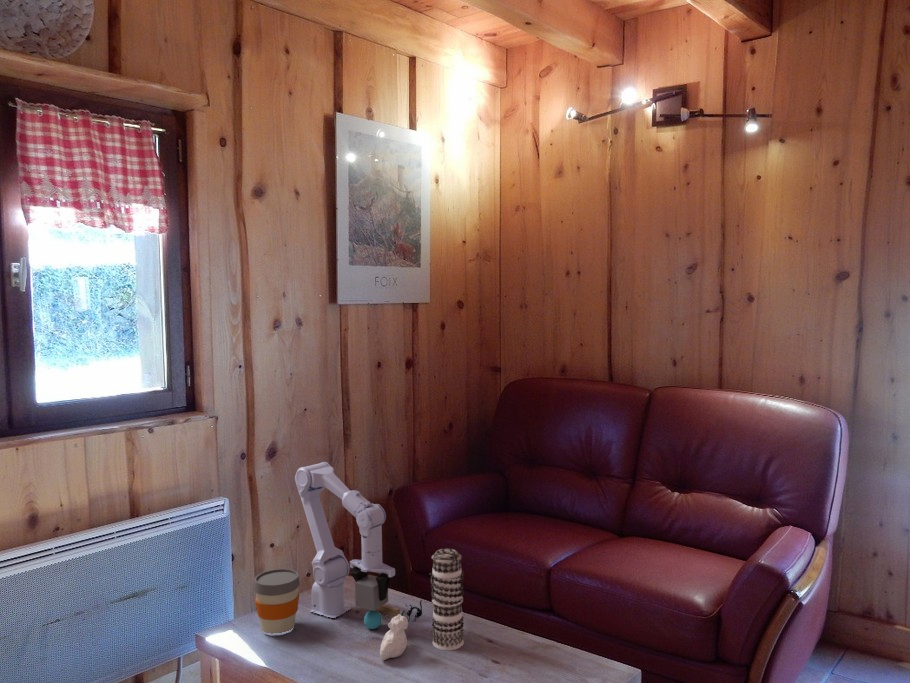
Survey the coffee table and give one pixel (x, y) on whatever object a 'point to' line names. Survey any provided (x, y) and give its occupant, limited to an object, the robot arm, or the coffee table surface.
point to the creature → (419, 612)
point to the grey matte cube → (368, 593)
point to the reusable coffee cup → (277, 599)
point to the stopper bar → (388, 610)
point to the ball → (372, 619)
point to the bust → (394, 638)
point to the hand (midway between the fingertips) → (372, 596)
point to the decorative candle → (447, 599)
